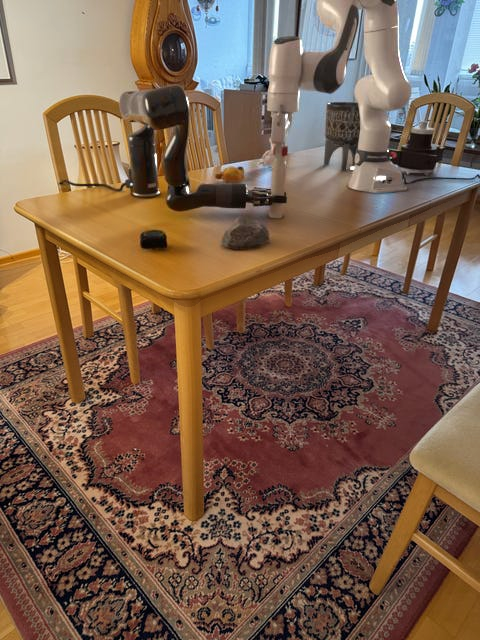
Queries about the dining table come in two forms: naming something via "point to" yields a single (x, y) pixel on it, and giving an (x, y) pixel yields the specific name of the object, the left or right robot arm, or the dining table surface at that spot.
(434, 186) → the dining table surface
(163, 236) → the tape measure
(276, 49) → the right robot arm
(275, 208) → the bottle
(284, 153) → the cap
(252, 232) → the rock
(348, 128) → the planter
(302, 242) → the dining table surface
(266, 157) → the figurine
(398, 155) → the mechanical component
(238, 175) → the toy
